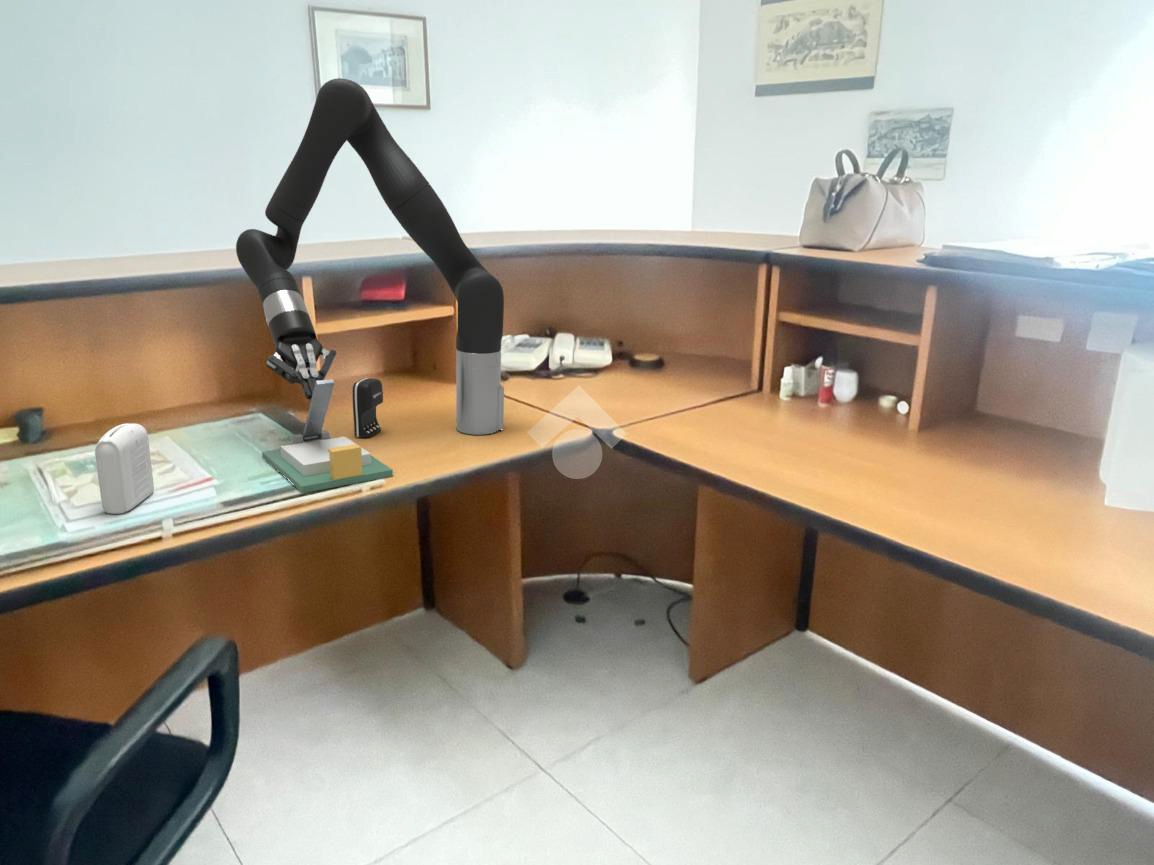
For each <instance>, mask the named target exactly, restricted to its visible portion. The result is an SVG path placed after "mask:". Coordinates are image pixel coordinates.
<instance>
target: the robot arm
mask: <svg viewBox="0 0 1154 865" xmlns="http://www.w3.org/2000/svg"><path fill="white" fill-rule="evenodd" d="M346 142H348V144H349V145H350V146H351V147H352V149H353V150H354V151H355V152H356V153H357V154H358V156H359V158H360V159H361V160H362V161H363V163H364V165H365V167H366V169H367V171H368V172H369V174H370V176H371V178H372V181H373V182H374V185H375V186H376V189H377V190H378V192H379V194H380V197H381V198H382V200H383V201H384V203H385V205H386V206H387V208H388V209H389V211H390V212H391V214H392V215H393V217H395V219H396V220H397V222H398V223H399V225H400V226H401V227H402V229H403V230H404V231H405V232H406V233H407V235H408V236H409V238H411V239H412V241H413V242H414V243H416V244H415V245H417V246H418V247H419V248H420V249H421V250H422V251H423V252H424V253H425V254H426V255H427V256H428V257H429V259H430V260H431V261H433V263H434V265H435V266H436V267H437V269H438V270H439V271H440V273H441V274H442V276H443V278H444V279H445V282H447V285H448V286H449V288H450V290H451V292H452V294H453V296H454V299H455V300H456V302H457V329H456V330H457V331H456V338H455V345H456V346H455V347H456V349H455V355H456V356H455V358H456V359H455V360H456V361H455V365H456V366H455V372H456V373H455V375H456V378H455V379H456V380H455V382H456V386H455V389H456V390H455V391H456V392H455V394H456V395H455V396H456V398H455V399H456V400H455V401H456V403H455V404H456V416H455V418H456V419H455V423H456V426H455V427H456V431H458V432H460V433H463V434H465V435H466V434H467V435H475V436H476V435H479V436H480V435H490V434H495V433H497V432H499V431H498V430H501V429H503V430H504V424H505V423H504V418H505V417H504V412H505V410H504V408H505V407H504V406H505V405H504V404H505V402H504V401H505V387H504V386H503V385H502V384H501V379H502V378H501V376H502V374H501V373H502V372H501V369H502V361H501V360H502V341H503V337H504V336H503V334H504V313H505V312H504V310H505V308H504V307H505V301H504V300H505V299H504V298H505V296H504V290H503V287H502V284H501V283H500V281H499V280H498V279H497V278H496V276H494V275H493V274H491V273H490V272H489V271H488V270H487V269H486V267H484V265H482V263H481V262H480V261H479V260H478V259H477V257H476V256H475V255H474V254H473V252H472V251H471V250H470V249H469V248H468V246H467V245H466V244H465V242H464V240H463V238H462V237H461V235H460V233H459V231H458V229H457V226H456V224H455V223H454V220H453V218H452V216H451V215H450V213H449V211H448V209H447V208H446V206H445V204H444V203H443V201H442V199H441V198H440V196H438V194H437V193H436V191H435V190H434V188H433V186H432V185H431V184H430V182H429V181H428V180H427V178H426V177H425V176H424V174H423V173H422V172H421V170H420V169H419V168H418V166H416V164H415V163H414V162H413V160H412V159H411V158H410V157H409V155H408V154H407V153H406V152H405V151H404V149H402V148H401V146H400V145H399V144H398V143H397V142H396V140H395V139H394V138H393V136H392V134H391V132H390V131H389V130H388V128H387V126H386V124H385V123H384V121H383V119H382V118H381V116H380V114H379V112H378V110H377V109H376V107H375V105H374V103H373V102H372V99H371V97H370V96H369V94H368V92H367V91H366V89H365V88H364V87H363V86H362V85H360V84H359V83H357V82H355V81H353V80H350V79H347V78H341V77H338V78H333V79H330V80H328V81H327V82H325V83H324V84H323V85H322V86H321V87H320V88H319V90H318V92H317V95H316V100H315V102H314V105H313V108H312V112H311V115H310V117H309V122H308V124H307V126H306V129H305V132H304V135H303V137H302V139H301V141H300V143H299V146H298V148H297V150H296V152H295V154H294V156H293V158H292V160H291V161H290V163H289V164H288V167H287V168H286V171H285V172H284V173H283V176H282V177H281V179H280V181H279V183H278V185H277V187H276V188H275V190H274V192H273V194H272V196H271V198H270V199H269V202H268V203H267V206H266V207H265V211H264V213H265V214H264V215H265V217H266V219H268V221H269V222H271V223H272V224H273V225H274V226H276V227H277V230H276V233H275V235H274V234H271V233H267V232H265V231H262V230H260V229H257V228H256V229H254V228H250V229H249V228H248V229H246V230H244V231H242V232H241V233H240V234H239V236H238V238H237V240H236V244H235V251H236V252H235V253H236V256H237V261H238V262H239V264H240V266H241V268H242V269H243V270H244V272H245V273H246V275H247V276H248V277H249V280H250V281H251V282H252V283H253V285H254V286H255V287H256V289H257V291H258V294H259V296H260V297H259V298H260V300H261V303H262V306H263V311H264V312H263V313H264V317H265V322H266V325H267V326H268V329H269V332H270V334H271V338H272V340H273V345H274V346H275V349H274V354H270V355H268V357H267V361H266V363H265V364H266V365H265V366H266V367H267V368H268V369H269V370H271V371H273V372H274V373H275V374H277V375H278V376H280V377H281V378H282V379H284V380H285V381H287V382H288V383H289V384H299V385H300V386H301V389H302V391H303V393H304V396H305V398H306V399H307V400H309V401H310V403H311V399H312V395H313V391H314V387H315V382H316V381H320V380H325V378H326V375H327V374H328V372H329V371H330V368H331V367H332V364H333V363H334V360H335V358H336V355H337V351H336V350H334V349H331V350H327V349H326V348H323V347H324V346H323V344H322V343H321V342H320V341H319V340H318V337H317V334H316V330H315V327H314V326H313V322H312V318H311V316H310V313H309V311H308V308H307V306H306V303H305V301H304V300H303V298H302V296H301V292H300V289H299V287H298V284H297V282H296V280H295V277H294V276H293V274H292V273H291V272H290V271H288V270H289V269H290V268H291V267H292V265H293V263H294V261H295V257H296V252H297V249H298V245H299V244H298V243H299V241H300V235H301V231H302V228H303V225H304V223H305V222H306V219H307V218H308V216H309V214H310V213H311V210H312V208H313V207H314V205H315V203H316V200H317V199H318V196H319V194H320V192H321V189H322V187H323V185H324V182H325V179H326V177H327V174H328V172H329V170H330V168H331V166H332V164H333V162H334V160H335V158H336V156H337V155H338V153H339V152H340V150H341V149H342V147H343V146H344V145H345V143H346ZM320 356H321V361H322V362H323V364H322V366H321V367H320V369H319V370H318V368H317V362H318V361H319V358H320ZM496 431H497V432H496ZM501 431H502V430H501ZM494 432H495V433H494Z"/></svg>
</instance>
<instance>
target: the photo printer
mask: <svg viewBox="0 0 1154 865" xmlns="http://www.w3.org/2000/svg"><path fill="white" fill-rule="evenodd" d="M94 455H95V463H96V471H97V480H98V486H99V493H100V501H101V507H102V510H103V511H104V512H106V514H112V515H113V514H115V515H118V514H124V513H126V512H129V511H130V510H132V509H134V508H135V507H136V506H138V505H139V504H140V503H141V502H143V501H144V500H145V499H147V498H148V497H149V496H150V495H152V494H153V493H154V490H155V486H154V477H153V468H152V459H151V458H152V457H151V451H150V441H149V434H148V431H147V430H146V428H145V427H144V426H143V425H141V424H139V423H122V424H119V425H116V426H114V427H113V428H111V429H109V430H108V431H107V432H105V434H103V436H102V437H101V438H99V441H98V442H97V443H96V446H95V448H94Z"/></svg>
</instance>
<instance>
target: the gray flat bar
mask: <svg viewBox="0 0 1154 865" xmlns="http://www.w3.org/2000/svg"><path fill="white" fill-rule="evenodd" d="M334 385H335V381H334V378H329V379H324V380H320V381H316V382H315V387H314V391H313V395H312V399H311V402H310V404H309V407H308V412H307V415H306V420H305V423H304V424H305V425H304V429H303V432H302V434H301V435H302V436H303V443H305V442H312V441H318V440H319V439H320V438H321V436H320V435H321V431H323V427H324V423H325V419H326V415H327V411H328V408H329V404H330V400H331V397H332V393H333V390H334Z"/></svg>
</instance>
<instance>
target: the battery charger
mask: <svg viewBox="0 0 1154 865" xmlns="http://www.w3.org/2000/svg"><path fill="white" fill-rule="evenodd" d="M383 402H384V392H383V383H382V382H381V380H380V379H378V378H371V377H364V378H362V379H359V380H358V381H355V382H354V384H353V386H352V410H353V412H352V414H353V429H354V430H353V432H354V437H355V438H371V437H373V436H375V435H376V434H377V433H380V432H381V430H382V428H381V425H380V424H379V422H378V418H377V407H378V406H380V404H382V403H383Z"/></svg>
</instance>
